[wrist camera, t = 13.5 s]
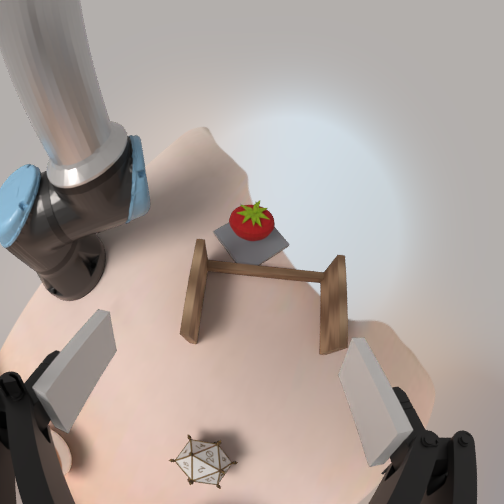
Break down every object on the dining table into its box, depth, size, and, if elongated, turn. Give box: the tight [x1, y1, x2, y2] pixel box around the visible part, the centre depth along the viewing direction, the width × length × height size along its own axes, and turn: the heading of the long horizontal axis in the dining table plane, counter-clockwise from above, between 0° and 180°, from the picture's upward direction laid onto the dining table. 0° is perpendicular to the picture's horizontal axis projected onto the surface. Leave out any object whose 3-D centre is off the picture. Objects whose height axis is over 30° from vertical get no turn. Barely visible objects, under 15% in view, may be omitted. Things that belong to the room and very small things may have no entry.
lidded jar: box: [50, 429, 72, 476], centre depth 24 cm, size 11×11×9 cm
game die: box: [169, 435, 238, 489], centre depth 29 cm, size 9×8×10 cm
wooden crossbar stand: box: [180, 239, 348, 355], centre depth 41 cm, size 14×22×9 cm, turn 85°
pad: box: [213, 223, 289, 266], centre depth 50 cm, size 10×10×1 cm
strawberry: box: [229, 201, 274, 241], centre depth 45 cm, size 6×8×10 cm
